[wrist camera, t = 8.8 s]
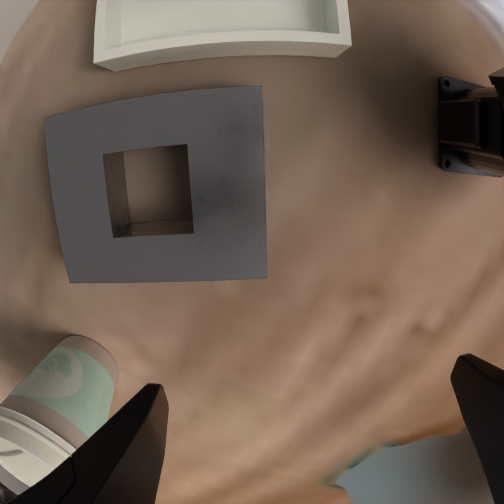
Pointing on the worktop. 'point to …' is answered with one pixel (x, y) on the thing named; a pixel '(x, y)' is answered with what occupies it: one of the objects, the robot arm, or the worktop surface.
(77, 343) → the coffee cup
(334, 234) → the worktop surface
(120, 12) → the parts tray
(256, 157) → the block
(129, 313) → the worktop surface
